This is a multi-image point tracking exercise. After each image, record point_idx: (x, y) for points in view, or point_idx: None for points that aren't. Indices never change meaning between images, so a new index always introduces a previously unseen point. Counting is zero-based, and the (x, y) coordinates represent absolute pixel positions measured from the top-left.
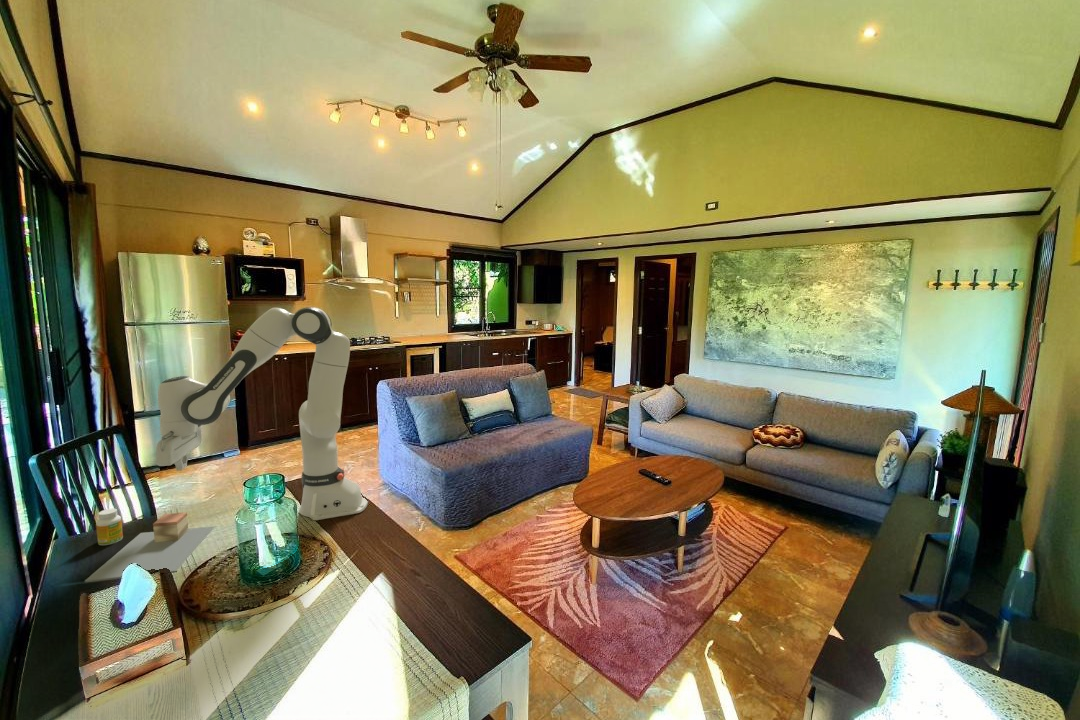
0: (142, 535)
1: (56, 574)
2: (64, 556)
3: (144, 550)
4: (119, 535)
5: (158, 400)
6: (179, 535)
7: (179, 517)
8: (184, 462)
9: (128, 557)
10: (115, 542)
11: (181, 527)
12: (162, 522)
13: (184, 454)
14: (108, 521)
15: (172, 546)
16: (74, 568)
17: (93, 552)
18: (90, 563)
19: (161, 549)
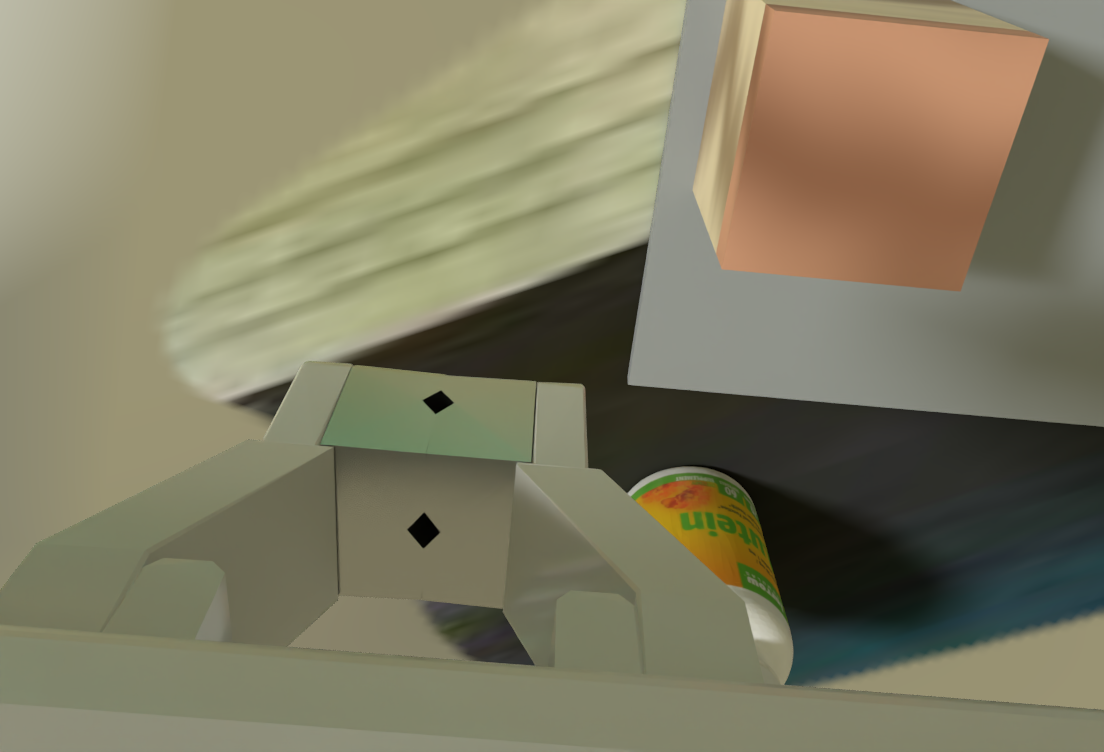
0: (689, 354)
1: (1049, 614)
2: (800, 666)
3: (1019, 235)
4: (719, 500)
5: None
6: (935, 1)
7: (916, 53)
8: (331, 483)
9: (1086, 308)
10: (740, 487)
11: (900, 7)
12: (976, 205)
13: (668, 742)
14: (782, 652)
15: (1074, 9)
16: (1019, 562)
17: (819, 552)
18: (996, 508)
19: (1085, 94)
